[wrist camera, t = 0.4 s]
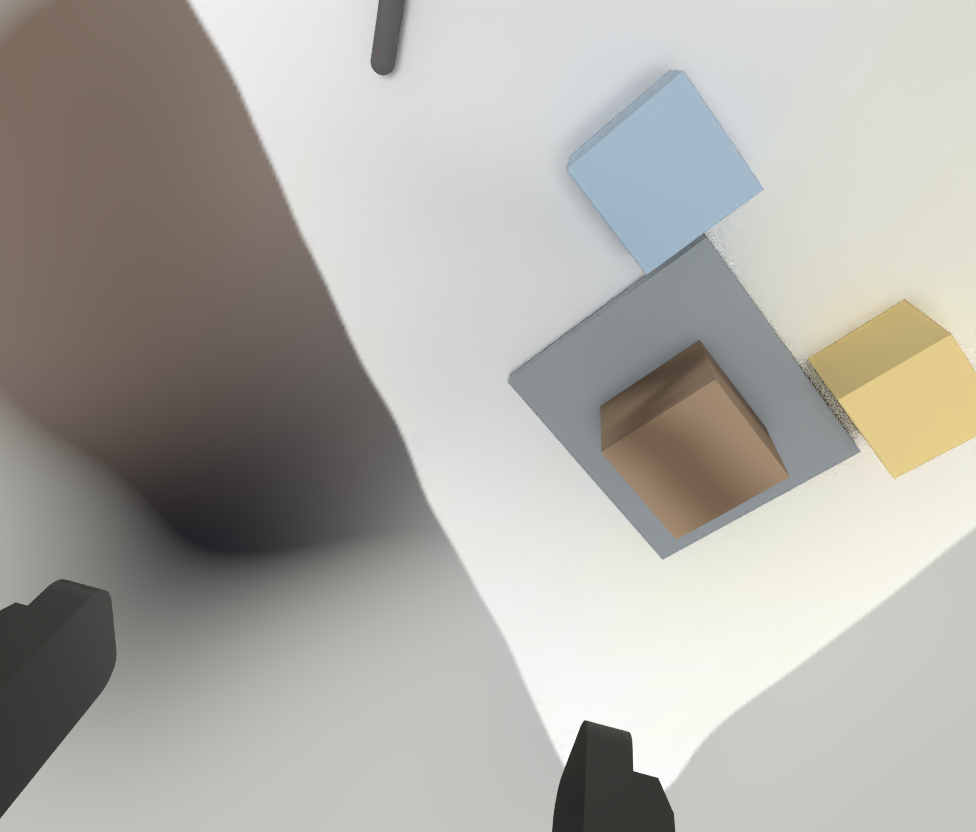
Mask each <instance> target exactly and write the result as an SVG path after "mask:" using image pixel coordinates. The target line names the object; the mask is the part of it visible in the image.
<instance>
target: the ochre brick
mask: <svg viewBox="0 0 976 832" xmlns="http://www.w3.org/2000/svg"><path fill="white" fill-rule="evenodd" d="M808 360H809V362H810V363H811V365H812V366H813V367H814V369H815V370H816V372H817V373H818V374H819V376H820V377H821V379H822V380H823V381H824V383H825V384H826V386H827V387H828V388H829V390H830V391H831V393H832V394H833V395H834V397H835V398H836V400H837V401H838V402H839V404H840V405H841V407H842V408H843V409H844V411H845V412H846V414H847V415H848V416H849V418H850V419H851V421H852V422H853V424H854V425H855V426H856V428H857V429H858V431H859V432H860V433H861V435H862V436H863V437H864V439H865V440H866V441H867V443H868V444H869V446H870V447H871V448H872V450H873V451H874V452H875V454H876V455H877V456H878V458H879V459H880V461H881V462H882V463H883V465H884V466H885V467H886V469H887V470H888V471H889V473H890V474H891V476H892V477H893V478H894V479H895V478H897V477H899V476H901V475H903V474H905V473H907V472H908V471H910V470H912V469H914V468H916V467H918V466H920V465H922V464H924V463H926V462H928V461H930V460H932V459H933V458H935V457H937V456H939V455H941V454H943V453H945V452H947V451H949V450H951V449H953V448H955V447H957V446H958V445H960V444H962V443H964V442H966V441H968V440H970V439H972V438H974V437H976V372H975V370H974V369H973V367H972V366H971V364H970V362H969V361H968V359H967V358H966V356H965V355H964V353H963V351H962V350H961V348H960V347H959V345H958V344H957V342H956V340H955V339H954V337H953V336H952V334H951V333H949V332H948V331H947V330H945V329H944V328H943V327H941V326H940V325H939V324H937V323H936V322H935V321H933V320H932V319H931V318H929V317H928V316H926V315H925V314H924V313H922V312H921V311H920V310H918V309H917V308H916V307H914V306H913V305H912V304H910V303H909V302H908V301H906V300H905V299H904V300H903V301H901V302H900V303H898V304H896V305H895V306H893V307H891V308H890V309H888V310H887V311H885V312H883V313H882V314H880V315H878V316H877V317H875V318H874V319H872V320H870V321H869V322H867V323H866V324H864V325H862V326H861V327H859V328H857V329H856V330H854V331H853V332H851V333H849V334H848V335H846V336H844V337H843V338H841V339H840V340H838V341H836V342H835V343H833V344H831V345H830V346H828V347H827V348H825V349H823V350H822V351H820V352H818V353H817V354H815V355H814V356H812V357H810V358H809V359H808Z"/></svg>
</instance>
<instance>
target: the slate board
mask: <svg viewBox="0 0 976 832" xmlns="http://www.w3.org/2000/svg"><path fill="white" fill-rule="evenodd" d="M698 340H700V341H701V342H702V344H703V345H704V346H705V348H706V349H707V350H708V352H709V353H710V354H711V356H712V357H713V358H714V360H715V361H716V362H717V364H718V365H719V366H720V368H721V369H722V370H723V371H724V373H725V374H726V375H727V377H728V378H729V379H730V381H731V382H732V383H733V385H734V386H735V387H736V389H737V390H738V391H739V393H740V394H741V395H742V396H743V398H744V399H745V400H746V402H747V403H748V404H749V406H750V407H751V408H752V410H753V411H754V412H755V414H756V415H757V416H758V418H759V419H760V420H761V422H762V423H763V424H764V425H765V427H766V429H767V431H768V433H769V435H770V437H771V439H772V441H773V443H774V445H775V447H776V450H777V452H778V454H779V456H780V458H781V460H782V462H783V464H784V466H785V468H786V470H787V472H788V474H789V476H790V477H789V478H787V479H785V480H784V481H782V482H780V483H778V484H776V485H775V486H773V487H771V488H769V489H767V490H766V491H764V492H762V493H760V494H758V495H756V496H755V497H753V498H751V499H749V500H747V501H746V502H744V503H742V504H740V505H738V506H737V507H735V508H733V509H731V510H729V511H728V512H726V513H724V514H722V515H720V516H719V517H717V518H715V519H713V520H711V521H709V522H708V523H706V524H704V525H702V526H700V527H699V528H697V529H695V530H693V531H691V532H690V533H688V534H686V535H684V536H682V537H681V538H679V539H677V540H676V539H675V538H674V537H673V536H672V534H671V533H670V532H669V531H668V530H667V529H666V527H665V526H664V525H663V524H662V523H661V521H660V520H659V519H658V518H657V517H656V516H655V514H654V513H653V512H652V511H651V510H650V509H649V507H648V506H647V505H646V504H645V503H644V502H643V500H642V499H641V498H640V497H639V496H638V495H637V493H636V492H635V491H634V490H633V489H632V488H631V486H630V485H629V484H628V483H627V482H626V481H625V479H624V478H623V477H622V476H621V475H620V474H619V472H618V471H617V470H616V469H615V468H614V466H613V465H612V464H611V463H610V462H609V461H608V459H607V458H606V457H605V456H604V455H603V454H602V452H601V412H600V406H601V405H603V404H604V403H606V402H607V401H609V400H610V399H612V398H613V397H615V396H616V395H618V394H619V393H621V392H622V391H624V390H625V389H627V388H628V387H630V386H631V385H633V384H634V383H636V382H637V381H639V380H640V379H642V378H643V377H645V376H646V375H648V374H649V373H651V372H652V371H654V370H655V369H657V368H658V367H660V366H661V365H663V364H664V363H666V362H667V361H669V360H670V359H672V358H673V357H674V356H676V355H677V354H679V353H680V352H682V351H683V350H685V349H686V348H688V347H689V346H691V345H692V344H694V343H695V342H697V341H698ZM508 383H509V384H510V385H511V386H512V387H513V388H514V390H515V391H516V392H517V393H518V394H519V395H520V396H521V398H522V399H523V400H524V401H525V402H526V403H527V404H528V406H529V407H530V408H531V409H532V410H533V411H534V412H535V414H536V415H537V416H538V417H539V418H540V419H541V421H542V422H543V423H544V424H545V425H546V426H547V427H548V429H549V430H550V431H551V432H552V433H553V434H554V435H555V437H556V438H557V439H558V440H559V441H560V442H561V443H562V445H563V446H564V447H565V448H566V449H567V450H568V451H569V453H570V454H571V455H572V456H573V457H574V458H575V460H576V461H577V462H578V463H579V464H580V465H581V466H582V468H583V469H584V470H585V471H586V472H587V473H588V474H589V476H590V477H591V478H592V479H593V480H594V481H595V482H596V484H597V485H598V486H599V487H600V488H601V489H602V491H603V492H604V493H605V494H606V495H607V496H608V497H609V499H610V500H611V501H612V502H613V503H614V504H615V505H616V507H617V508H618V509H619V510H620V511H621V512H622V513H623V515H624V516H625V517H626V518H627V519H628V520H629V522H630V523H631V524H632V525H633V526H634V527H635V528H636V530H637V531H638V532H639V533H640V534H641V535H642V536H643V538H644V539H645V540H646V541H647V542H648V543H649V544H650V546H651V547H652V548H653V549H654V550H655V551H656V552H657V554H658V555H659V556H660V557H661V558H662V559H665V558H666V557H668V556H670V555H672V554H674V553H676V552H677V551H679V550H681V549H683V548H685V547H687V546H688V545H690V544H692V543H694V542H696V541H698V540H699V539H701V538H703V537H705V536H707V535H709V534H710V533H712V532H714V531H716V530H718V529H720V528H721V527H723V526H725V525H727V524H729V523H731V522H732V521H734V520H736V519H738V518H740V517H742V516H743V515H745V514H747V513H749V512H751V511H753V510H754V509H756V508H758V507H760V506H762V505H764V504H765V503H767V502H769V501H771V500H773V499H775V498H776V497H778V496H780V495H782V494H784V493H786V492H787V491H789V490H791V489H793V488H795V487H797V486H798V485H800V484H802V483H804V482H806V481H808V480H809V479H811V478H813V477H815V476H817V475H819V474H820V473H822V472H824V471H826V470H828V469H830V468H831V467H833V466H835V465H837V464H839V463H841V462H843V461H844V460H846V459H848V458H850V457H852V456H854V455H855V454H857V453H859V452H861V451H860V450H859V448H858V447H857V446H856V444H855V443H854V441H853V440H852V438H851V437H850V436H849V434H848V433H847V432H846V430H845V429H844V427H843V426H842V425H841V423H840V422H839V420H838V419H837V418H836V416H835V415H834V413H833V412H832V411H831V409H830V408H829V407H828V405H827V404H826V402H825V401H824V400H823V398H822V397H821V395H820V394H819V393H818V391H817V390H816V388H815V387H814V386H813V384H812V383H811V381H810V380H809V379H808V377H807V376H806V375H805V373H804V372H803V370H802V369H801V368H800V366H799V365H798V363H797V362H796V361H795V359H794V358H793V356H792V355H791V354H790V352H789V351H788V349H787V348H786V347H785V345H784V344H783V343H782V341H781V340H780V338H779V337H778V336H777V334H776V333H775V331H774V330H773V329H772V327H771V326H770V324H769V323H768V322H767V320H766V319H765V318H764V316H763V315H762V313H761V312H760V311H759V309H758V308H757V306H756V305H755V304H754V302H753V301H752V299H751V298H750V297H749V295H748V294H747V292H746V291H745V290H744V288H743V287H742V286H741V284H740V283H739V281H738V280H737V279H736V277H735V276H734V274H733V273H732V272H731V270H730V269H729V267H728V266H727V265H726V263H725V262H724V260H723V259H722V258H721V256H720V255H719V254H718V252H717V251H716V249H715V248H714V247H713V245H712V244H711V242H710V241H709V240H708V238H707V237H706V235H705V234H704V233H703V234H702V235H700V236H699V237H698V238H696V239H695V240H693V241H692V242H691V243H689V244H688V245H687V246H685V247H684V248H683V249H681V250H680V251H678V252H677V253H676V254H674V255H673V256H672V257H670V258H669V259H668V260H666V261H665V262H663V263H662V264H661V265H659V266H658V267H657V268H655V269H654V270H653V271H651V272H650V273H648V274H647V275H645V276H644V277H643V278H641V279H640V280H639V281H637V282H636V283H635V284H633V285H632V286H630V287H629V288H628V289H626V290H625V291H624V292H622V293H621V294H620V295H618V296H617V297H615V298H614V299H613V300H611V301H610V302H609V303H607V304H606V305H605V306H603V307H602V308H600V309H599V310H598V311H596V312H595V313H594V314H592V315H591V316H590V317H588V318H587V319H585V320H584V321H583V322H581V323H580V324H579V325H577V326H576V327H575V328H573V329H572V330H571V331H569V332H568V333H566V334H565V335H564V336H562V337H561V338H560V339H558V340H557V341H556V342H554V343H553V344H551V345H550V346H549V347H547V348H546V349H545V350H543V351H542V352H541V353H539V354H538V355H536V356H535V357H534V358H532V359H531V360H530V361H528V362H527V363H526V364H524V365H523V366H521V367H520V368H519V369H517V370H516V371H515V372H513V373H512V374H511V375H510V377H509V381H508Z"/></svg>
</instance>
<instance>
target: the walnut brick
mask: <svg viewBox="0 0 976 832" xmlns="http://www.w3.org/2000/svg"><path fill="white" fill-rule="evenodd" d="M600 412H601V452H602V454H603V455H604V456H605V457H606V458H607V459H608V461H609V462H610V463H611V464H612V465H613V466H614V468H615V469H616V470H617V471H618V472H619V474H620V475H621V476H622V477H623V478H624V479H625V481H626V482H627V483H628V484H629V485H630V486H631V488H632V489H633V490H634V491H635V492H636V493H637V495H638V496H639V497H640V498H641V499H642V500H643V502H644V503H645V504H646V505H647V506H648V507H649V509H650V510H651V511H652V512H653V513H654V514H655V516H656V517H657V518H658V519H659V520H660V521H661V523H662V524H663V525H664V526H665V527H666V529H667V530H668V531H669V532H670V533H671V534H672V536H673V537H674V538H675V539H676V540H677V539H679V538H681V537H682V536H684V535H686V534H688V533H690V532H691V531H693V530H695V529H697V528H699V527H700V526H702V525H704V524H706V523H708V522H709V521H711V520H713V519H715V518H717V517H719V516H720V515H722V514H724V513H726V512H728V511H729V510H731V509H733V508H735V507H737V506H738V505H740V504H742V503H744V502H746V501H747V500H749V499H751V498H753V497H755V496H756V495H758V494H760V493H762V492H764V491H766V490H767V489H769V488H771V487H773V486H775V485H776V484H778V483H780V482H782V481H784V480H785V479H787V478H789V477H790V476H789V474H788V472H787V470H786V468H785V466H784V464H783V462H782V460H781V458H780V456H779V454H778V452H777V450H776V447H775V445H774V443H773V441H772V439H771V437H770V435H769V433H768V431H767V429H766V427H765V425H764V424H763V423H762V422H761V420H760V419H759V418H758V416H757V415H756V414H755V412H754V411H753V410H752V408H751V407H750V406H749V404H748V403H747V402H746V400H745V399H744V398H743V396H742V395H741V394H740V393H739V391H738V390H737V389H736V387H735V386H734V385H733V383H732V382H731V381H730V379H729V378H728V377H727V375H726V374H725V373H724V371H723V370H722V369H721V368H720V366H719V365H718V364H717V362H716V361H715V360H714V358H713V357H712V356H711V354H710V353H709V352H708V350H707V349H706V348H705V346H704V345H703V344H702V342H701V341H700V340H698V341H697V342H695V343H694V344H692V345H691V346H689V347H688V348H686V349H685V350H683V351H682V352H680V353H679V354H677V355H676V356H674V357H673V358H672V359H670V360H669V361H667V362H666V363H664V364H663V365H661V366H660V367H658V368H657V369H655V370H654V371H652V372H651V373H649V374H648V375H646V376H645V377H643V378H642V379H640V380H639V381H637V382H636V383H634V384H633V385H631V386H630V387H628V388H627V389H625V390H624V391H622V392H621V393H619V394H618V395H616V396H615V397H613V398H612V399H610V400H609V401H607V402H606V403H604V404H603V405H601V406H600Z"/></svg>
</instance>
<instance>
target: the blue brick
mask: <svg viewBox="0 0 976 832" xmlns="http://www.w3.org/2000/svg"><path fill="white" fill-rule="evenodd" d="M566 170H567V171H568V173H569V174H570V175H571V177H572V178H573V179H574V181H575V182H576V183H577V184H578V186H579V187H580V188H581V190H582V191H583V192H584V194H585V195H586V196H587V198H588V199H589V200H590V202H591V203H592V204H593V205H594V207H595V208H596V209H597V211H598V212H599V213H600V215H601V216H602V217H603V219H604V220H605V221H606V223H607V224H608V225H609V226H610V228H611V229H612V230H613V232H614V233H615V234H616V236H617V237H618V238H619V240H620V241H621V242H622V244H623V245H624V246H625V247H626V249H627V250H628V251H629V253H630V254H631V255H632V257H633V258H634V259H635V261H636V262H637V263H638V265H639V266H640V267H641V268H642V270H643V271H644V272H645V274H646V275H647V274H648V273H650V272H651V271H653V270H654V269H655V268H657V267H658V266H659V265H661V264H662V263H663V262H665V261H666V260H668V259H669V258H670V257H672V256H673V255H674V254H676V253H677V252H678V251H680V250H681V249H683V248H684V247H685V246H687V245H688V244H689V243H691V242H692V241H693V240H695V239H696V238H698V237H699V236H700V235H702V234H703V233H704V232H706V231H707V230H708V229H710V228H711V227H713V226H714V225H715V224H717V223H718V222H719V221H721V220H722V219H723V218H725V217H726V216H728V215H729V214H730V213H732V212H733V211H734V210H736V209H737V208H738V207H740V206H741V205H742V204H744V203H745V202H747V201H748V200H749V199H751V198H752V197H753V196H755V195H756V194H757V193H759V192H760V191H762V190H763V187H762V186H761V184H760V183H759V182H758V180H757V179H756V177H755V176H754V174H753V173H752V171H751V170H750V168H749V167H748V165H747V164H746V162H745V161H744V159H743V158H742V156H741V155H740V153H739V152H738V151H737V149H736V148H735V146H734V145H733V143H732V142H731V140H730V139H729V137H728V136H727V134H726V133H725V131H724V130H723V128H722V127H721V125H720V124H719V123H718V121H717V120H716V118H715V117H714V115H713V114H712V112H711V111H710V109H709V108H708V106H707V105H706V103H705V102H704V100H703V99H702V97H701V96H700V94H699V93H698V92H697V90H696V89H695V87H694V86H693V84H692V83H691V81H690V80H689V78H688V77H687V75H686V74H685V72H684V71H676V70H670V71H669V72H668V73H667V74H666V75H664V76H663V77H662V78H661V79H660V80H659V81H657V82H656V83H655V84H654V85H653V86H652V87H650V88H649V89H648V90H647V91H646V92H644V93H643V94H642V95H641V96H640V97H639V98H637V99H636V100H635V101H634V102H633V103H632V104H630V105H629V106H628V107H627V108H626V109H625V110H623V111H622V112H621V113H620V114H619V115H618V116H616V117H615V118H614V119H613V120H612V121H610V122H609V123H608V124H607V125H606V126H605V127H603V128H602V129H601V130H600V131H599V132H598V133H596V134H595V135H594V136H593V137H592V138H591V139H589V140H588V141H587V142H586V143H585V144H584V145H582V146H581V147H580V148H579V149H578V150H576V151H575V152H574V153H573V154H572V155H571V156H570V158H569V161H568V165H567V169H566Z"/></svg>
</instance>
